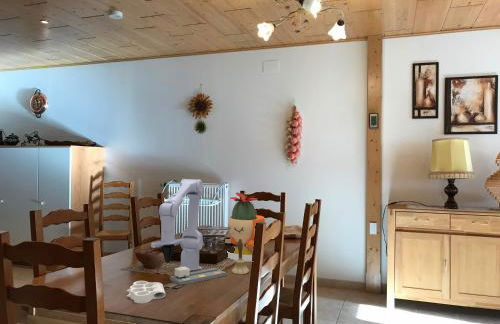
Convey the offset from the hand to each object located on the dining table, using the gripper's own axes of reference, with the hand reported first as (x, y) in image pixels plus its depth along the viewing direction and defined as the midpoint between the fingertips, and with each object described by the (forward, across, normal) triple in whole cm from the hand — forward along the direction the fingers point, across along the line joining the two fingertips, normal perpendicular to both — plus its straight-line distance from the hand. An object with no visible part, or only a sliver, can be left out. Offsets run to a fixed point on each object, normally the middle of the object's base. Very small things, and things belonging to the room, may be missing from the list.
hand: (167, 262), depth 178 cm
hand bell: (+9, +37, -4) cm, 38 cm away
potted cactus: (+10, +58, +18) cm, 61 cm away
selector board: (+9, +16, -1) cm, 18 cm away
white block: (+7, +7, -1) cm, 10 cm away
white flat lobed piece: (+10, -13, -7) cm, 18 cm away
